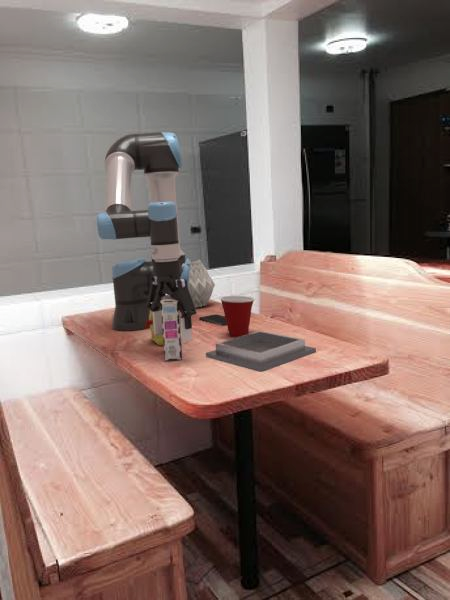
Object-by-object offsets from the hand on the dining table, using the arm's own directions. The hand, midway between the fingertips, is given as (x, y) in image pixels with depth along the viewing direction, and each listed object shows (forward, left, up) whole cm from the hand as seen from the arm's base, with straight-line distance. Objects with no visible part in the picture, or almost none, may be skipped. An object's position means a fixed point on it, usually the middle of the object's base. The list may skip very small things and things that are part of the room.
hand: (172, 336), depth 148 cm
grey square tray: (+19, +15, -5) cm, 25 cm away
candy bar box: (0, 0, -5) cm, 5 cm away
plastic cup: (-1, +26, -5) cm, 27 cm away
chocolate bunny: (-15, +5, -5) cm, 17 cm away
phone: (-21, +35, -6) cm, 41 cm away
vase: (-49, +47, -5) cm, 68 cm away
